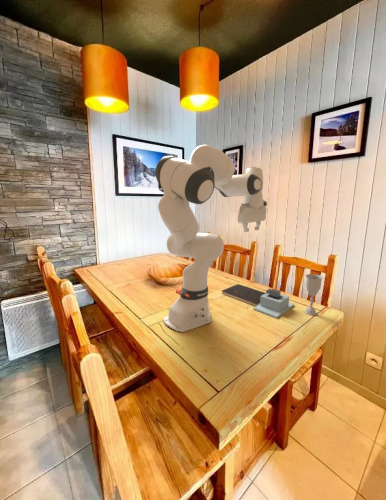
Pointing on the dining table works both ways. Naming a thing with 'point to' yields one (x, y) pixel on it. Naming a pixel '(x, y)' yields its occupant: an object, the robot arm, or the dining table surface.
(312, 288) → the chalice
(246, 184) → the robot arm
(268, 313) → the grey socket base
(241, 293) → the hardcover book
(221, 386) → the dining table surface
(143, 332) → the dining table surface
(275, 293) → the bracket
